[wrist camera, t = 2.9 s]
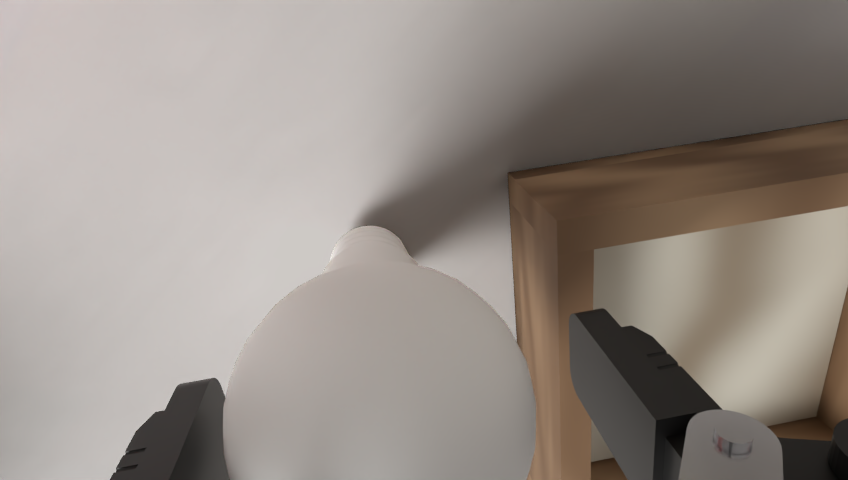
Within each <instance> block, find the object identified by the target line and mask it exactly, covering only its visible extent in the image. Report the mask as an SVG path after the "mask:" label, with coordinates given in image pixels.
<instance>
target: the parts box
mask: <svg viewBox="0 0 848 480" xmlns="http://www.w3.org/2000/svg"><path fill="white" fill-rule="evenodd" d="M508 190H509V207H510V225H511V243H512V261H513V279H514V296H515V314H516V332H517V344H518V346H519V348H520V350H521V352H522V354H523V355H524V357H525V359H526V361H527V365H528V369H529V373H530V377H531V381H532V386H533V391H534V396H535V401H536V441H535V451H534V455H533V459H532V463H531V467H530V471H529V473H528V476H527V479H526V480H627V478H626V476H625V475H624V473H623V471H622V470H621V468H620V466H619V465H618V463H617V461H616V460H615V458H614V456H613V455H612V453H611V451H610V450H609V448H608V446H607V445H606V443H605V441H604V440H603V438H602V436H601V435H600V433H599V431H598V430H597V428H596V426H595V425H594V423H593V421H592V420H591V418H590V416H589V415H588V413H587V411H586V410H585V408H584V406H583V405H582V403H581V401H580V400H579V398H578V396H577V394H576V392H575V389H574V386H573V383H572V379H571V374H570V351H569V317H570V315H571V314H573V313H579V312H584V311H590V310H595V309H601V308H604V309H606V310H607V311H608V312H609V314H610V315H611V316H612V317H613V318H614V319H615V320H616V321H617V323H618V324H619V325H620V326H621V327H625V326H631V325H632V326H634V327H636V328H638V329H640V330H641V331H643V332H645V333H647V334H649V335H651V336H653V337H654V338H655V339H656V341H657V342H658V343H659V344H660V345H661V346H662V347H663V348H664V349H665V350H666V352H667V354H670V355H671V356H672V357H673V358H674V359H675V360H676V361H677V362H678V365H679V366H681V367H682V368H683V369H684V370H685V371H686V372H687V373H688V374H689V375H690V376H691V377H692V378H693V379H694V380H695V381H696V382H697V383H698V384H699V385H700V386H701V388H702V389H703V390H704V391H705V392H706V393H707V394H708V395H709V396H710V397H711V398H712V399H713V400H714V401H715V402H716V403H717V404H718V405H719V406H720V407H721V408H722V409H723V410H729V411H734V412H738V413H742V414H744V415H747V416H750V417H752V418H754V419H756V420H758V421H759V422H761V423H763V424H764V425H765V426H767V427H768V428H769V429H770V430H771V431H772V432H773V433H774V434H775V435H776V437H780V438H791V439H807V440H824V441H831V440H832V436H833V431H834V428H835V426H836V425H837V424H838V423H839V422H840V421H842V420H845V419H847V418H848V119H846V120H839V121H833V122H827V123H820V124H814V125H808V126H801V127H795V128H789V129H782V130H776V131H770V132H763V133H757V134H751V135H744V136H738V137H731V138H725V139H719V140H712V141H706V142H700V143H693V144H687V145H681V146H674V147H668V148H662V149H655V150H649V151H643V152H636V153H630V154H623V155H617V156H611V157H604V158H598V159H592V160H585V161H579V162H573V163H566V164H560V165H554V166H547V167H541V168H535V169H528V170H522V171H515V172H509V173H508Z"/></svg>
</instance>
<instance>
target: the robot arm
mask: <svg viewBox="0 0 848 480" xmlns="http://www.w3.org/2000/svg"><path fill="white" fill-rule="evenodd" d="M569 351H570V374H571V379H572V383H573V386H574V389H575V392H576V394H577V396H578V398H579V400H580V401H581V403H582V405H583V406H584V408H585V410H586V411H587V413H588V415H589V416H590V418H591V420H592V421H593V423H594V425H595V426H596V428H597V430H598V431H599V433H600V435H601V436H602V438H603V440H604V441H605V443H606V445H607V446H608V448H609V450H610V451H611V453H612V455H613V456H614V458H615V460H616V461H617V463H618V465H619V466H620V468H621V470H622V471H623V473H624V475H625V476H626V478H627V480H848V418H847V419H845V420H842V421H840V422H839V423H838V424H837V425H836V426H835V428H834V431H833V436H832V440H831V441H824V440H807V439H791V438H780V437H776V435H775V434H774V433H773V432H772V431H771V430H770V429H769V428H768V427H767V426H765V425H764V424H763V423H761V422H759V421H758V420H756V419H754V418H752V417H750V416H747V415H744V414H742V413H738V412H734V411H729V410H723V409H722V408H721V407H720V406H719V405H718V404H717V403H716V402H715V401H714V400H713V399H712V398H711V397H710V396H709V395H708V394H707V393H706V392H705V391H704V390H703V389H702V388H701V386H700V385H699V384H698V383H697V382H696V381H695V380H694V379H693V378H692V377H691V376H690V375H689V374H688V373H687V372H686V371H685V370H684V369H683V368H682V367H681V366H679V365H678V362H677V361H676V360H675V359H674V358H673V357H672V356H671V355H670V354H667V352H666V350H665V349H664V348H663V347H662V346H661V345H660V344H659V343H658V342H657V341H656V339H655V338H654V337H653V336H651V335H649V334H647V333H645V332H643V331H641V330H640V329H638V328H636V327H634V326H632V325H631V326H625V327H621V326H620V325H619V324H618V323H617V321H616V320H615V319H614V318H613V317H612V316H611V315H610V314H609V312H608V311H607V310H606V309H604V308H601V309H595V310H590V311H584V312H579V313H573V314H571V315H570V317H569ZM224 402H225V396H224V393H223V390H222V387H221V385H220V383H219V381H218V380H217V379H216V378H211V379H205V380H200V381H194V382H189V383H183V384H179V385H178V386H177V387H176V389H175V391H174V393H173V395H172V397H171V399H170V401H169V403H168V405H167V407H166V409H165V411H159V412H155V413H154V414H153V415H152V416H151V417H150V418H149V419H148V420H147V421H146V422H145V423H144V424H143V425H142V426H141V427H140V428H139V429H138V430H137V431H136V433H135V435H134V436H133V438H132V440H131V442H130V444H129V446H128V447H127V449H126V451H125V452H126V454H125V455H124V456H123V457H122V459H121V460H120V462H119V464H118V466H117V468H116V473H113V475H112V477H111V479H110V480H230V478H229V475H228V470H227V466H226V461H225V457H224V445H223V407H224Z"/></svg>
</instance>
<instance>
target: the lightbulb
mask: <svg viewBox="0 0 848 480" xmlns="http://www.w3.org/2000/svg"><path fill="white" fill-rule="evenodd" d="M535 441H536V401H535V396H534V391H533V386H532V381H531V377H530V373H529V369H528V365H527V361H526V359H525V357H524V355H523V354H522V352H521V350H520V348H519V346H518V344H517V342H516V340H515V338H514V337H513V335H512V333H511V331H510V329H509V327H508V325H507V324H506V323H505V322H504V320H503V319H502V318H501V317H500V316H499V315H498V314H497V312H496V311H495V310H494V309H493V308H492V307H491V306H490V305H489V304H488V303H487V302H486V301H485V300H483V299H482V298H481V297H480V296H479V295H478V294H476V293H475V292H474V291H472V290H471V289H470V288H468V287H467V286H465V285H464V284H463V283H461V282H460V281H459V280H457V279H455V278H453V277H450V276H448V275H446V274H444V273H441V272H439V271H437V270H435V269H432V268H427V267H423V266H419V265H418V264H417V263H416V261H415V260H414V259H413V258H412V257H411V256H410V255H409V254H408V252H407V250H406V248H405V246H404V245H403V243H402V241H401V240H400V239H399V238H398V237H397V235H395V234H394V233H392V232H391V231H389V230H387V229H385V228H382V227H378V226H362V227H358V228H355V229H353V230H351V231H349V232H347V233H346V234H345V235H343V236H342V237H341V238H340V239H339V241H338V242H337V243H336V245H335V247H334V249H333V252H332V255H331V258H330V262H329V264H328V265H327V266H326V267H325V269H324V271H323V273H322V274H321V275H319V276H317V277H315V278H313V279H311V280H309V281H308V282H306V283H304V284H302V285H300V286H298V287H297V288H295V289H294V290H293V291H292V292H290V293H289V294H288V295H287V296H285V297H284V298H283V299H282V300H280V301H279V302H278V303H277V304H276V305H275V306H274V307H273V308H272V310H271V311H270V312H269V313H268V314H267V316H266V317H265V318H264V319H263V321H262V322H261V323H260V324H259V325H258V327H257V328H256V329H255V330H254V332H253V333H252V334H251V335H250V337H249V338H248V339H247V341H246V343H245V345H244V347H243V349H242V351H241V353H240V355H239V357H238V359H237V361H236V363H235V365H234V368H233V371H232V374H231V377H230V380H229V384H228V389H227V393H226V398H225V402H224V407H223V445H224V457H225V461H226V466H227V470H228V475H229V478H230V480H526V479H527V476H528V473H529V471H530V467H531V463H532V459H533V455H534V451H535Z"/></svg>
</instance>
